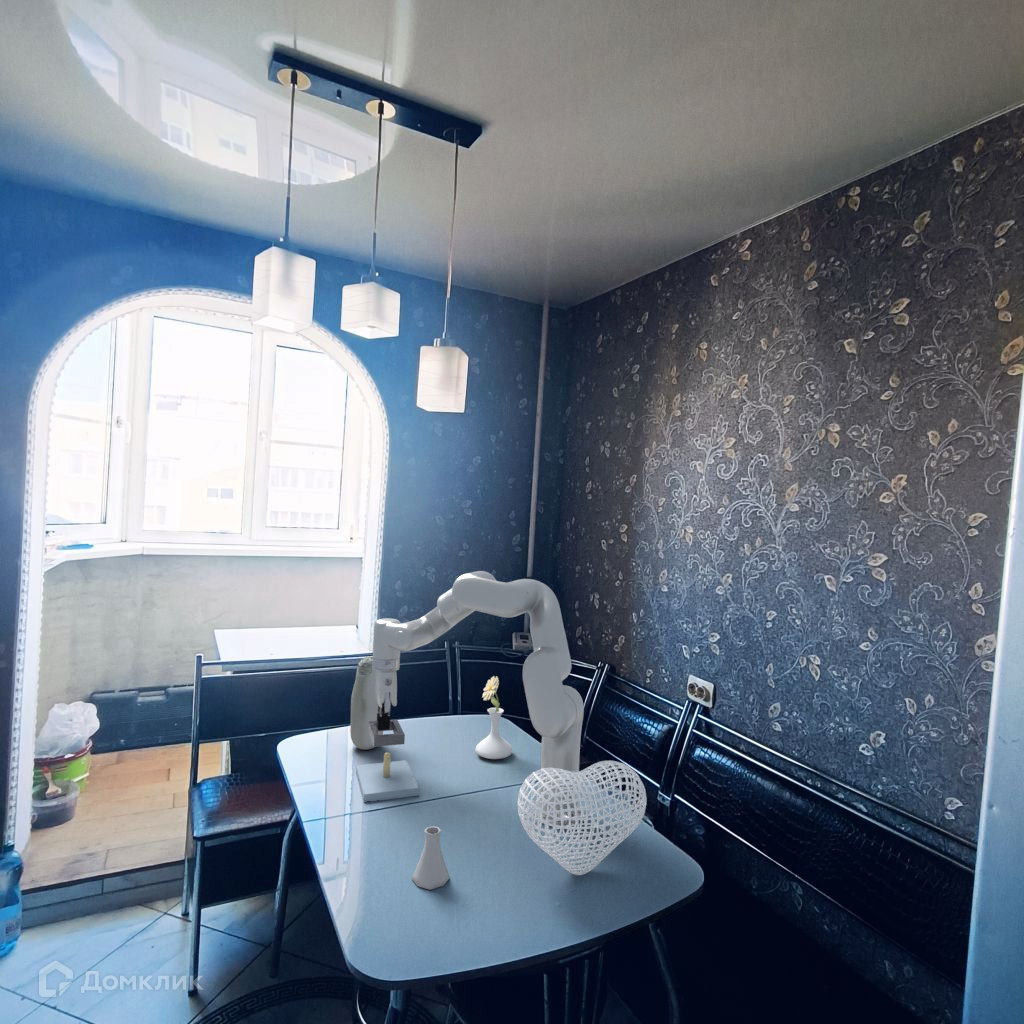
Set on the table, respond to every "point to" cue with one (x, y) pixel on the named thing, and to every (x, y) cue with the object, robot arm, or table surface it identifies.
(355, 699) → the tall cream vase
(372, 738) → the steel link
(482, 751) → the flower in vase
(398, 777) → the board
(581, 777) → the heart
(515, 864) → the table surface
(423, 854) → the flask
